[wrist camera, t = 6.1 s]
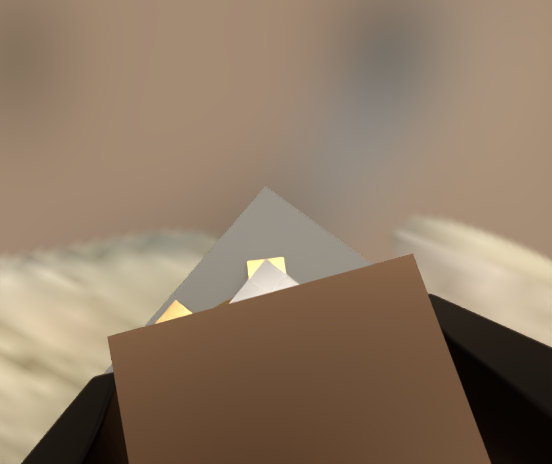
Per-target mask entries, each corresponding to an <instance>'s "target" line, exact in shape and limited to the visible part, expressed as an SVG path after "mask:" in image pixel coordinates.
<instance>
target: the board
mask: <svg viewBox="0 0 552 464" xmlns="http://www.w3.org/2000/svg"><path fill="white" fill-rule="evenodd" d="M279 257H284V264H285V272H286V274H287V275H288V276H289V277H290V278H292V279H293V280H294V281H296V282H297V283H298V284H303V283H307V282H311V281H314V280H318V279H322V278H325V277H329V276H333V275H336V274H340V273H344V272H347V271H351V270H355V269H358V268H362V267H366V266H370V265H373V264H371V263H370V262H368V261H367V260H366V259H365V258H363V257H362V256H360V255H359V254H358V253H356V252H355V251H354V250H352V249H351V248H349V247H348V246H347V245H345V244H344V243H342V242H341V241H340V240H338V239H337V238H336V237H334V236H333V235H332V234H330V233H329V232H328V231H326V230H325V229H323V228H322V227H320V226H319V225H318V224H317V223H315V222H314V221H312V220H311V219H310V218H308V217H307V216H306V215H304V214H303V213H302V212H300V211H299V210H297V209H296V208H295V207H293V206H292V205H290V204H289V203H288V202H286V201H285V200H284V199H282V198H281V197H280V196H278V195H277V194H275V193H274V192H273V191H271V190H270V189H269V188H267V187H264V188H263V190H262V191H261V192H260V193H259V194H258V195H257V197H256V198H255V199H254V200H253V201H252V202H251V204H250V205H249V206H248V207H247V208H246V209H245V210H244V212H243V213H242V214H241V215H240V216H239V217H238V219H237V220H236V221H235V222H234V223H233V224H232V226H231V227H230V228H229V229H228V230H227V231H226V233H225V234H224V235H223V236H222V237H221V238H220V240H219V241H218V242H217V243H216V244H215V245H214V246H213V248H212V249H211V250H210V251H209V252H208V253H207V255H206V256H205V257H204V258H203V259H202V260H201V262H200V263H199V264H198V265H197V266H196V267H195V269H194V270H193V271H192V272H191V273H190V274H189V276H188V277H187V278H186V279H185V280H184V281H183V282H182V284H181V285H180V286H179V287H178V288H177V289H176V291H175V292H174V293H173V294H172V295H171V296H170V298H169V299H168V300H167V301H166V302H165V303H164V305H163V306H162V307H161V308H160V309H159V310H158V312H157V313H156V314H155V315H154V316H153V317H152V318H151V320H150V321H149V322H148V323H147V324H146V325H145V326H149V325H152V324H155V323H156V322H157V321H158V320H159V318H160V317H161V316H162V315H163V314H164V313H165V311H166V310H167V309H168V308H169V307H170V306H171V304H172V303H173V302H174V301H175V300H177V301H178V302H179V303H180V304H182V305H183V306H184V307H185V308H187V309H188V310H189V311H190V312H191V313H197V312H200V311H204V310H208V309H211V308H215V307H216V306H218V305H219V304H221V303H222V302H224V301H226V300H229V299H231V298H233V297H235V295H236V294H237V293H238V292H239V291H240V289H241V288H242V287H243V286H244V284H245V283H246V282H247V281H248V280H249V276H248V267H247V261H253V260H261V259H270V258H279ZM110 372H113V366H112V365H111V366H110V367H109V368H108V370H107V371H106V372H105V373H104V374H106V373H110Z"/></svg>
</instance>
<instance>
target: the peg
mask: <svg viewBox="0 0 552 464" xmlns="http://www.w3.org/2000/svg"><path fill="white" fill-rule="evenodd" d="M108 342H109V348H110V354H111V360H112V366H113V372H114V378H115V384H116V390H117V396H118V401H119V407H120V413H121V419H122V425H123V431H124V437H125V443H126V449H127V455H128V461H129V464H491V462H490V459H489V457H488V454H487V451H486V449H485V446H484V443H483V441H482V438H481V435H480V433H479V430H478V427H477V424H476V422H475V419H474V416H473V414H472V411H471V408H470V406H469V403H468V400H467V398H466V395H465V392H464V390H463V387H462V384H461V382H460V379H459V376H458V374H457V371H456V368H455V366H454V363H453V360H452V358H451V355H450V352H449V350H448V347H447V344H446V342H445V339H444V336H443V333H442V331H441V328H440V325H439V323H438V320H437V317H436V315H435V312H434V309H433V307H432V304H431V301H430V299H429V296H428V293H427V291H426V288H425V285H424V283H423V280H422V277H421V275H420V272H419V269H418V267H417V264H416V261H415V259H414V256H413V254H410V255H406V256H403V257H399V258H395V259H392V260H388V261H384V262H381V263H377V264H374V265H370V266H366V267H362V268H358V269H355V270H351V271H347V272H344V273H340V274H336V275H333V276H329V277H325V278H322V279H318V280H314V281H311V282H307V283H303V284H300V285H296V286H292V287H289V288H285V289H281V290H278V291H274V292H270V293H267V294H263V295H259V296H255V297H252V298H248V299H244V300H241V301H237V302H233V303H230V304H226V305H222V306H219V307H215V308H211V309H208V310H204V311H200V312H197V313H193V314H189V315H186V316H182V317H178V318H175V319H171V320H167V321H164V322H160V323H156V324H152V325H149V326H145V327H141V328H138V329H134V330H130V331H127V332H123V333H119V334H116V335H112V336H108Z"/></svg>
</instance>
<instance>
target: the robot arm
mask: <svg viewBox="0 0 552 464" xmlns="http://www.w3.org/2000/svg"><path fill="white" fill-rule="evenodd" d="M428 296H429V299H430V301H431V304H432V307H433V309H434V312H435V315H436V317H437V320H438V323H439V325H440V328H441V331H442V333H443V336H444V339H445V342H446V344H447V347H448V350H449V352H450V355H451V358H452V360H453V363H454V366H455V368H456V371H457V374H458V376H459V379H460V382H461V384H462V387H463V390H464V392H465V395H466V398H467V400H468V403H469V406H470V408H471V411H472V414H473V416H474V419H475V422H476V424H477V427H478V430H479V433H480V435H481V438H482V441H483V443H484V446H485V449H486V451H487V454H488V457H489V459H490V462H491V464H552V347H550V346H548V345H545V344H543V343H541V342H539V341H536V340H534V339H532V338H530V337H527V336H525V335H523V334H521V333H518V332H516V331H514V330H512V329H510V328H507V327H505V326H503V325H501V324H498V323H496V322H494V321H492V320H489V319H487V318H485V317H483V316H480V315H478V314H476V313H474V312H472V311H469V310H467V309H465V308H463V307H460V306H458V305H456V304H454V303H451V302H449V301H447V300H445V299H442V298H440V297H438V296H436V295H433V294H428ZM21 464H129V461H128V455H127V449H126V443H125V437H124V431H123V425H122V419H121V413H120V407H119V401H118V396H117V390H116V384H115V378H114V372H110V373H106V374H102V375H98V376H95V377H93V378H92V379H91V380H90V381H89V382H88V384H87V385H86V386H85V387H84V388H83V390H82V391H81V392H80V393H79V394H78V396H77V397H76V398H75V399H74V400H73V402H72V403H71V404H70V405H69V406H68V408H67V409H66V410H65V411H64V412H63V414H62V415H61V416H60V417H59V418H58V420H57V421H56V422H55V423H54V424H53V426H52V427H51V428H50V429H49V431H48V432H47V433H46V434H45V435H44V437H43V438H42V439H41V440H40V441H39V443H38V444H37V445H36V446H35V447H34V449H33V450H32V451H31V452H30V453H29V455H28V456H27V457H26V458H25V459H24V461H23V462H22V463H21Z"/></svg>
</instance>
